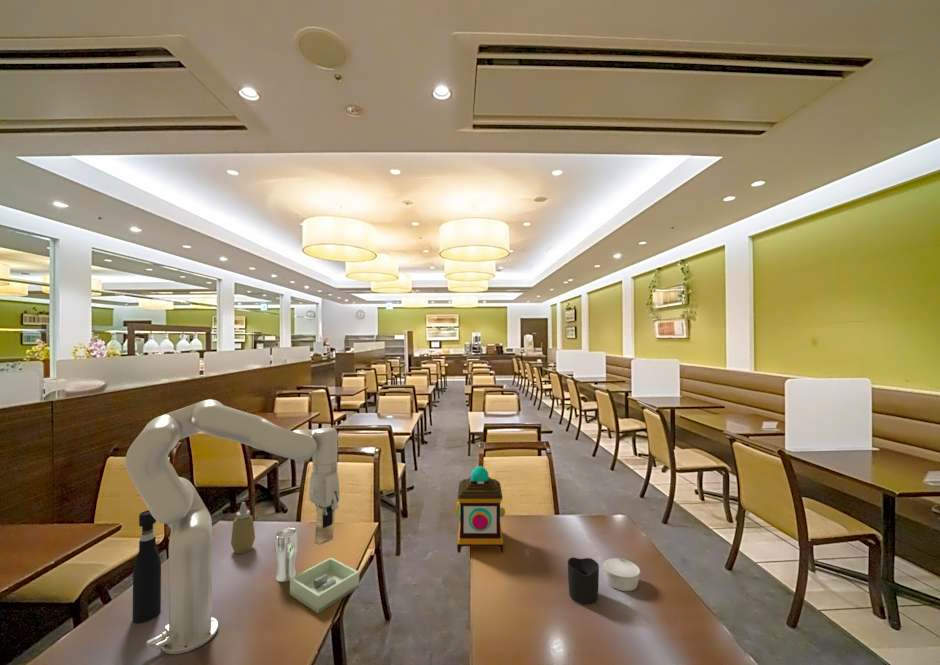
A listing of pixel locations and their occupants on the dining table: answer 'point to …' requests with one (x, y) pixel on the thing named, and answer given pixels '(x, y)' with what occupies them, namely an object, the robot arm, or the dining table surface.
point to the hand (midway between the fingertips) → (324, 524)
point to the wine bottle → (146, 573)
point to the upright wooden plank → (323, 533)
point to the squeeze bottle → (243, 531)
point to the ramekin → (621, 574)
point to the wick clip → (323, 582)
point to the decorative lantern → (479, 511)
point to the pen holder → (583, 580)
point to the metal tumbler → (285, 553)
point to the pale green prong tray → (317, 597)
